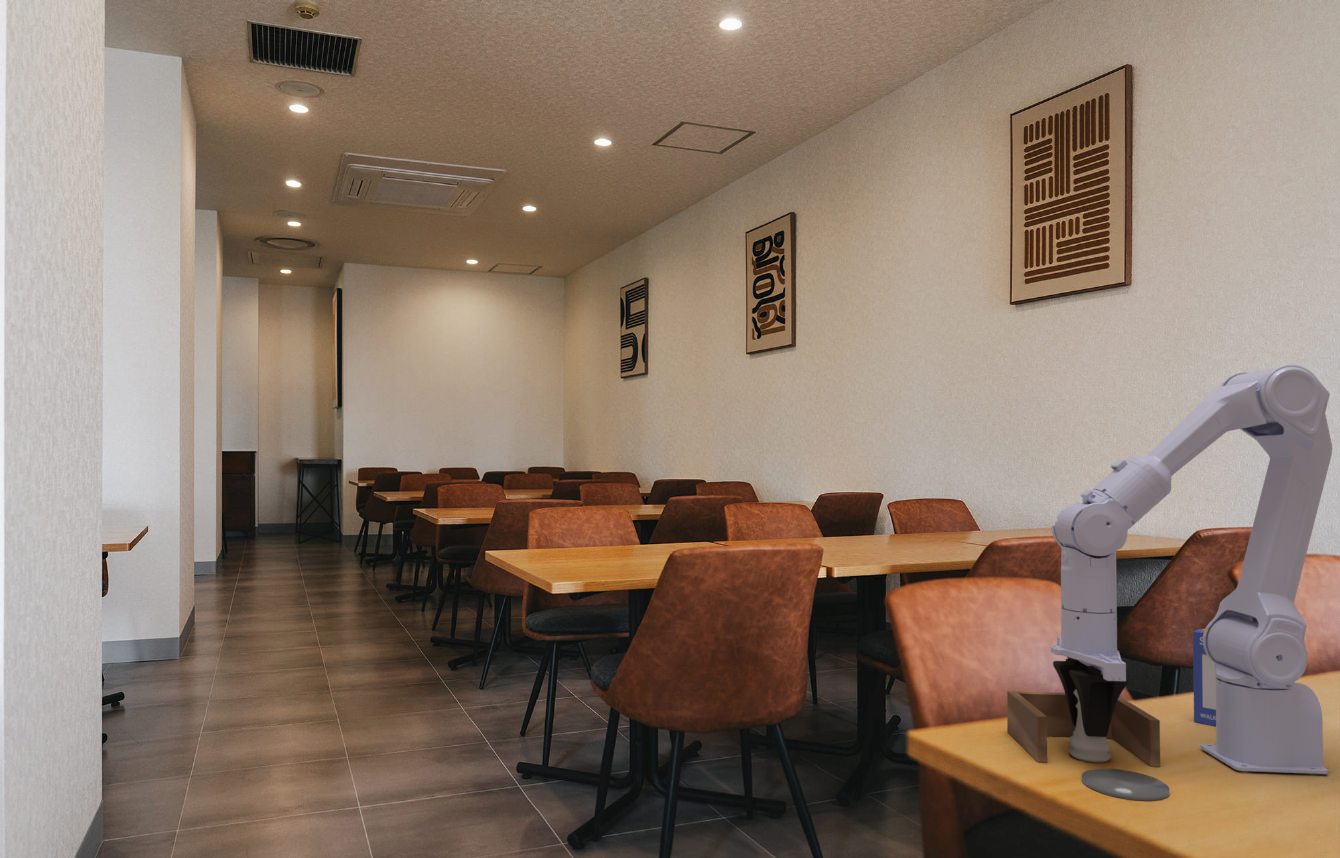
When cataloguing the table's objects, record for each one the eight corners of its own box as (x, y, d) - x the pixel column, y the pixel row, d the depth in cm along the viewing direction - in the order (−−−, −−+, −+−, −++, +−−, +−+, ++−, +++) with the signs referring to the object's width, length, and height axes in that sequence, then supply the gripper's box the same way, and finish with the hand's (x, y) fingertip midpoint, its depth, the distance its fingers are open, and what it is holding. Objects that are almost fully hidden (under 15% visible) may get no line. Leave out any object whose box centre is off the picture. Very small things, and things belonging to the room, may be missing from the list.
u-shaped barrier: (1117, 736, 107) (1116, 694, 107) (1160, 766, 96) (1159, 720, 96) (1007, 732, 108) (1007, 691, 108) (1037, 762, 97) (1037, 716, 97)
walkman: (1193, 722, 114) (1192, 628, 114) (1200, 718, 116) (1199, 626, 116) (1265, 736, 108) (1264, 637, 108) (1271, 731, 110) (1269, 634, 110)
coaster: (1147, 773, 94) (1147, 770, 94) (1185, 802, 86) (1185, 798, 86) (1069, 770, 95) (1069, 767, 95) (1100, 799, 87) (1100, 794, 87)
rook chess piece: (1116, 765, 97) (1116, 691, 97) (1073, 762, 97) (1072, 688, 98) (1105, 752, 101) (1104, 681, 101) (1063, 749, 102) (1063, 679, 102)
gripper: (1031, 599, 107) (1031, 711, 107) (1076, 619, 93) (1077, 750, 92) (1090, 600, 107) (1091, 713, 106) (1146, 621, 92) (1147, 752, 92)
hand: (1089, 730), depth 99 cm, fingers closed on rook chess piece, 3 cm apart
